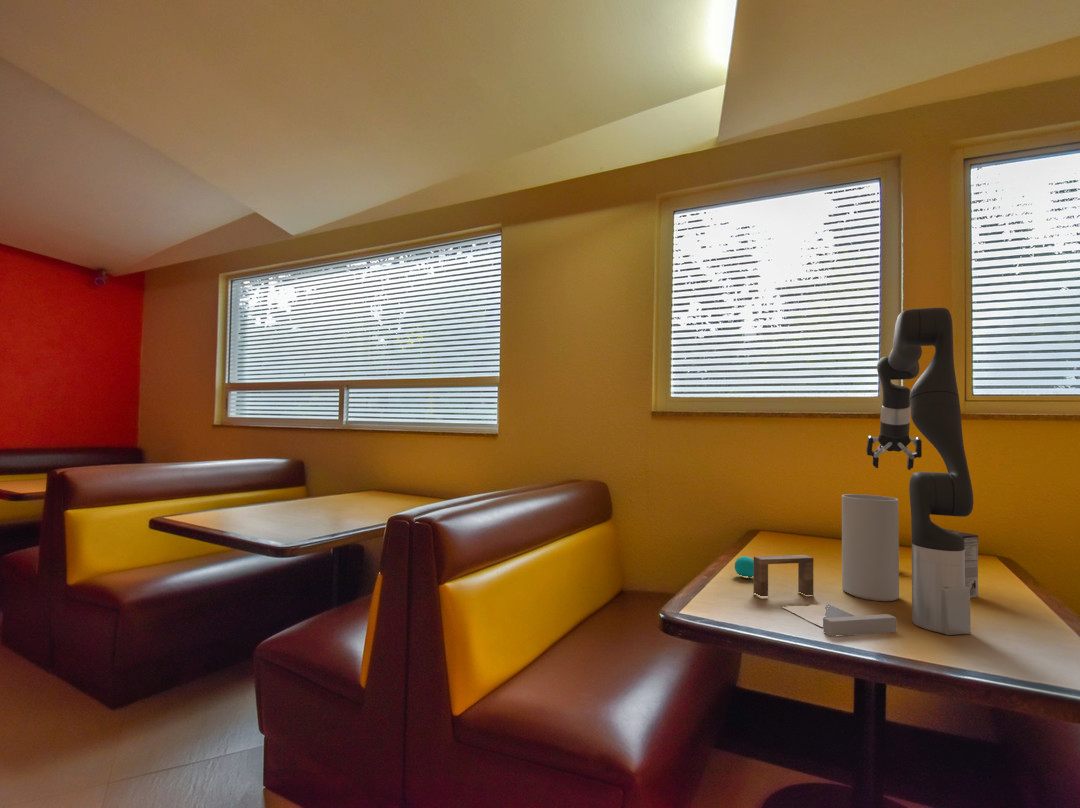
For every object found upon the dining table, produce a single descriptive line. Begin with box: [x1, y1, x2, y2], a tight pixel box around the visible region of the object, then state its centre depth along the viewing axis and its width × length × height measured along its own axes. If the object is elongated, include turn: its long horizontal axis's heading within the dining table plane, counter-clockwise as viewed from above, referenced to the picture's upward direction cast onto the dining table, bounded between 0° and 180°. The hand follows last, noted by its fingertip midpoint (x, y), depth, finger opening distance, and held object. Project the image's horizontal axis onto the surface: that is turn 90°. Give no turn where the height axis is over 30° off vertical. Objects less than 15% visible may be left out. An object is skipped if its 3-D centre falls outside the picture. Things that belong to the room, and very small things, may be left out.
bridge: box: [753, 554, 814, 597], centre depth 133 cm, size 3×15×10 cm, turn 102°
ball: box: [734, 555, 754, 578], centre depth 148 cm, size 6×6×6 cm
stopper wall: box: [822, 613, 897, 637], centre depth 109 cm, size 2×16×3 cm, turn 102°
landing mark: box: [824, 603, 855, 618], centre depth 119 cm, size 13×13×1 cm
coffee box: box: [945, 528, 979, 599], centre depth 139 cm, size 9×6×16 cm
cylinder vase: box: [841, 493, 900, 602], centre depth 136 cm, size 12×12×25 cm
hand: (892, 468), depth 166 cm, fingers open, 8 cm apart
